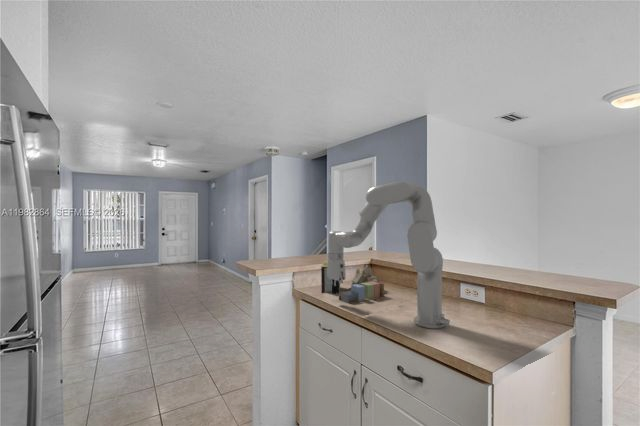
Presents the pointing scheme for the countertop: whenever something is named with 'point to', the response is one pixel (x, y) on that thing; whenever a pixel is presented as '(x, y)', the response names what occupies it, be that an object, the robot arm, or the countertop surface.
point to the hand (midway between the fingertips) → (335, 293)
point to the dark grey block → (349, 297)
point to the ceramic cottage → (364, 276)
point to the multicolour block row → (371, 298)
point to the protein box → (325, 279)
